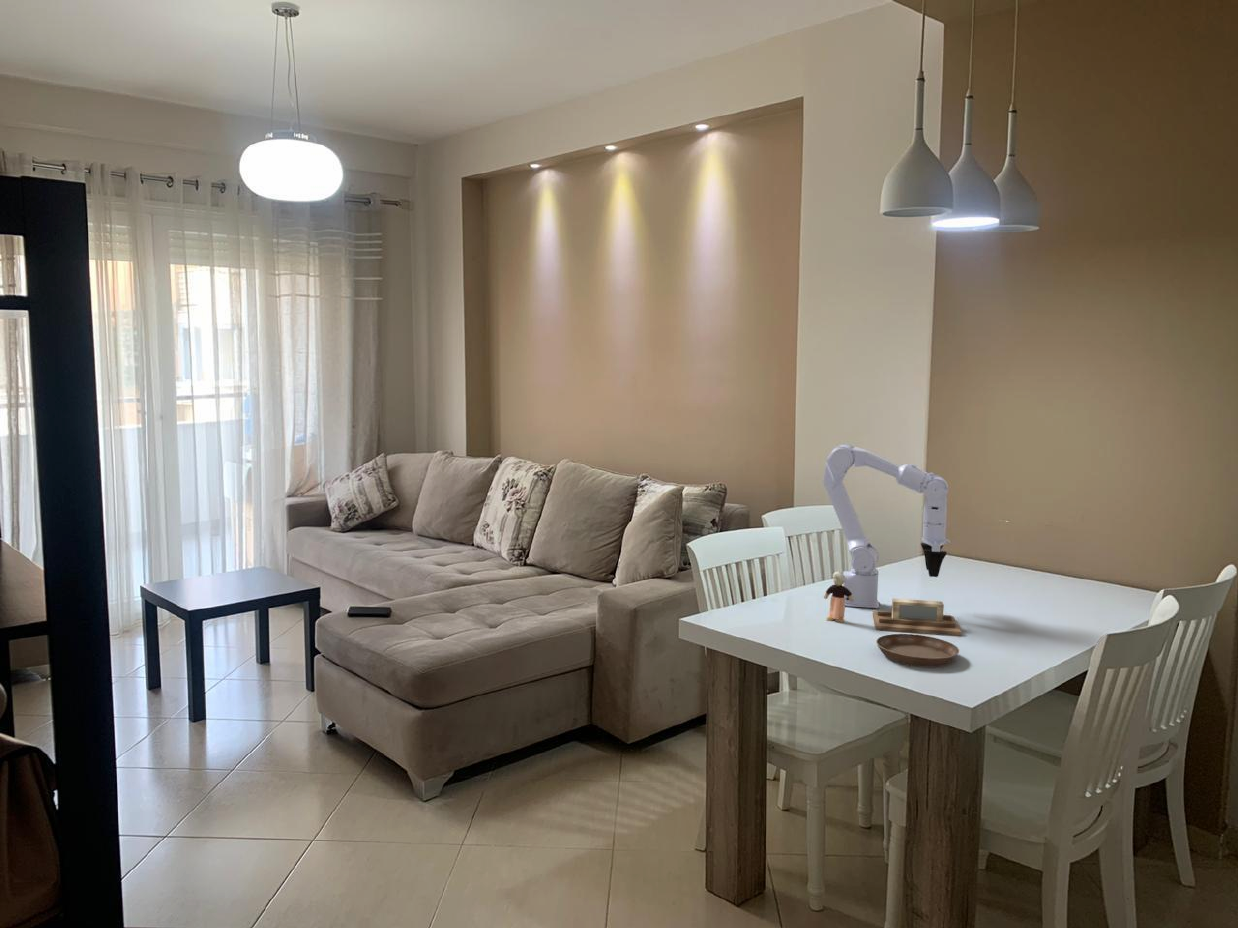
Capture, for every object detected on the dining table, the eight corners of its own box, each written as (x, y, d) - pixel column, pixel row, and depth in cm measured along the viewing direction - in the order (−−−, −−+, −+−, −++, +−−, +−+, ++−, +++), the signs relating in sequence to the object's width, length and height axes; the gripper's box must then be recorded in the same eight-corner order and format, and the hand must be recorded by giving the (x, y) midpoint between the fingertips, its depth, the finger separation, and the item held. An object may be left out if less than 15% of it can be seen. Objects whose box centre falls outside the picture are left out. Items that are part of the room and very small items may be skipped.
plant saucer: (940, 645, 213) (941, 632, 213) (971, 671, 196) (972, 657, 195) (865, 645, 213) (866, 632, 212) (890, 671, 195) (890, 657, 195)
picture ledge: (875, 629, 224) (875, 621, 224) (872, 614, 238) (872, 607, 238) (961, 635, 220) (961, 627, 220) (953, 620, 233) (953, 612, 233)
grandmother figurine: (821, 620, 232) (822, 572, 230) (823, 616, 235) (825, 568, 234) (852, 624, 229) (854, 574, 227) (854, 620, 232) (855, 571, 231)
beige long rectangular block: (892, 621, 228) (893, 601, 228) (891, 617, 231) (892, 598, 231) (942, 624, 226) (943, 604, 225) (941, 621, 229) (942, 601, 228)
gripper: (953, 528, 231) (951, 580, 232) (947, 518, 245) (945, 568, 246) (924, 526, 233) (922, 578, 234) (920, 517, 247) (917, 566, 248)
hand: (932, 573), depth 240 cm, fingers open, 7 cm apart
